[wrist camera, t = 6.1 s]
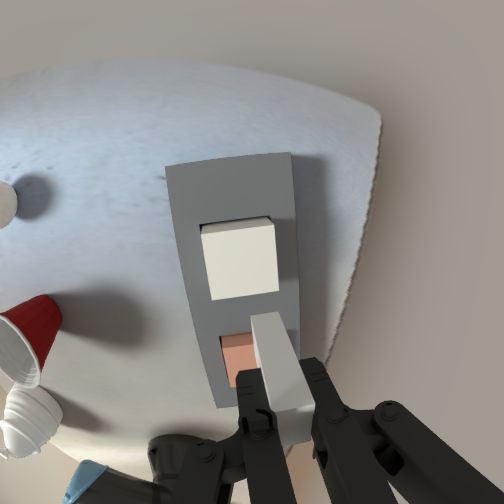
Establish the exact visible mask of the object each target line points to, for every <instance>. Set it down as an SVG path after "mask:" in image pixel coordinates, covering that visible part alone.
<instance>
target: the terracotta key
mask: <svg viewBox="0 0 504 504" xmlns="http://www.w3.org/2000/svg"><path fill="white" fill-rule="evenodd" d="M222 350H223V355H224V359H225V364H226V369H227V373H228V378H229V382H230V386H231V387H236V382H235V378H236V376H237V374H238V372H239V371H240V370H248V369H255V368H258V367H257V362H256V358H255V351H254V343H253V334H252V332H246V333H239V334H232V335H225V336H222Z"/></svg>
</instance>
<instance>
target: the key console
mask: <svg viewBox="0 0 504 504" xmlns="http://www.w3.org/2000/svg"><path fill="white" fill-rule="evenodd" d="M165 171H166V179H167V186H168V194H169V200H170V207H171V213H172V220H173V226H174V232H175V237H176V243H177V248H178V254H179V259H180V264H181V269H182V274H183V279H184V284H185V289H186V293H187V298H188V302H189V307H190V311H191V315H192V320H193V324H194V328H195V332H196V336H197V340H198V344H199V348H200V351H201V355H202V359H203V363H204V366H205V370H206V373H207V377H208V380H209V384H210V387H211V391H212V394H213V397H214V401H215V404H216V407H217V408H225V407H234V406H238V400H237V391H236V387H231V386H230V382H229V378H228V373H227V369H226V364H225V359H224V355H223V350H222V336H225V335H232V334H239V333H246V332H252V325H251V315H258V314H265V313H272V312H279V314H280V317H281V319H282V322H283V324H284V327H285V329H286V332H287V334H288V337H289V339H290V342H291V344H292V347H293V349H294V352H295V354H296V357H297V359H298V360H300V306H299V274H298V251H297V232H296V216H295V201H294V188H293V175H292V163H291V153H290V152H283V153H269V154H257V155H246V156H237V157H228V158H219V159H211V160H204V161H197V162H190V163H184V164H178V165H172V166H166V167H165ZM258 217H267V218H268V219H269V220H270V221H271V222H272V223H273V224H274V229H275V242H276V255H277V269H278V283H279V291H274V292H267V293H261V294H254V295H247V296H240V297H233V298H226V299H218V300H212V298H211V293H210V287H209V281H208V276H207V270H206V264H205V258H204V252H203V245H202V239H201V231H202V227H203V225H204V224H211V223H219V222H226V221H234V220H242V219H250V218H258Z"/></svg>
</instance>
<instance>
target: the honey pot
mask: <svg viewBox="0 0 504 504" xmlns="http://www.w3.org/2000/svg"><path fill="white" fill-rule="evenodd" d="M4 414H5V417H4V420H1V421H0V426H1V428H2V430H3V431H4V439H5V445H6V448H7V449H6V448H0V455H1V456H2V457H4V458H5V459H7V460H8V458H9V454H10V455H11V456H13V457H15V458H23V457H26V456H28V455H30V454H32V453H35V454H38V453H40V452H41V449H40V447H41V446H42V445H43V444H46V443H47V441H48V440H50V438H51V437H52V436H54V435H55V434H56V432H57V429H58V427H59V425H60V422H61V420H62V418H63V412H62V410H61V407H60V406H59V405H58V403H57V402H56V401H55V400H54V398H53V397H52V396H51V395H49V394H48V393H47V392H46V391H45V390H44V389H42V388H41V387H40V386H36V387H35V388H34V389H31V388H24V387H22V386H20V385H18V384H16V383H15V385H14V386H13V388H12V389H11V391H10V392H9V394H8V396H7V403H6V409H5V410H4ZM8 453H9V454H8Z"/></svg>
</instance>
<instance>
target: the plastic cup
mask: <svg viewBox="0 0 504 504" xmlns="http://www.w3.org/2000/svg"><path fill="white" fill-rule="evenodd" d="M61 320H62V316H61V312H60V310H59V307H58V306H57V304H56V303H55V302H54V301H53V300H52V299H51V298H49V297H48V296H44V295H40V296H36V297H34V298H32V299H30V300H28V301H26V302H23V303H21V304H19V305H17V306H15V307H13V308H11V309H10V310H8V311H6V312H3V313H0V369H1V371H2V372H3V373H4V374H5V375H6V376H7V377H8V378H10V379H11V380H12V381H13V382H14V383H16V384H18V385H20V386H22V387H24V388H31V389H34V388H35V387H36V386H38V385H39V384H40V379H41V372H42V369H43V366H44V363H45V360H46V358H47V356H48V353H49V351H50V349H51V346H52V344H53V342H54V340H55V337H56V334H57V332H58V330H59V328H60V324H61Z"/></svg>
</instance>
